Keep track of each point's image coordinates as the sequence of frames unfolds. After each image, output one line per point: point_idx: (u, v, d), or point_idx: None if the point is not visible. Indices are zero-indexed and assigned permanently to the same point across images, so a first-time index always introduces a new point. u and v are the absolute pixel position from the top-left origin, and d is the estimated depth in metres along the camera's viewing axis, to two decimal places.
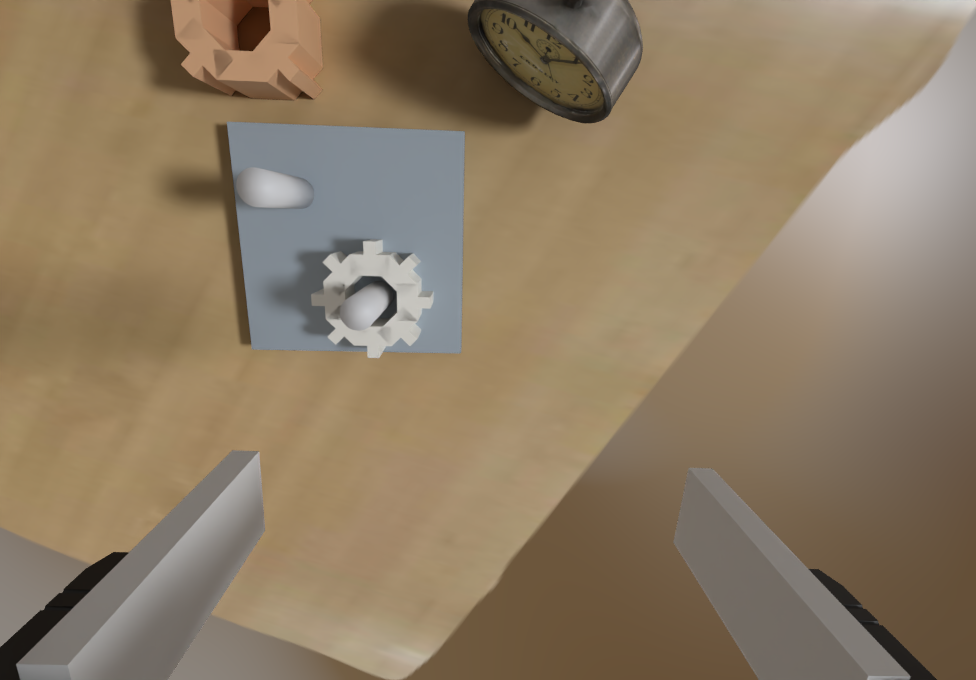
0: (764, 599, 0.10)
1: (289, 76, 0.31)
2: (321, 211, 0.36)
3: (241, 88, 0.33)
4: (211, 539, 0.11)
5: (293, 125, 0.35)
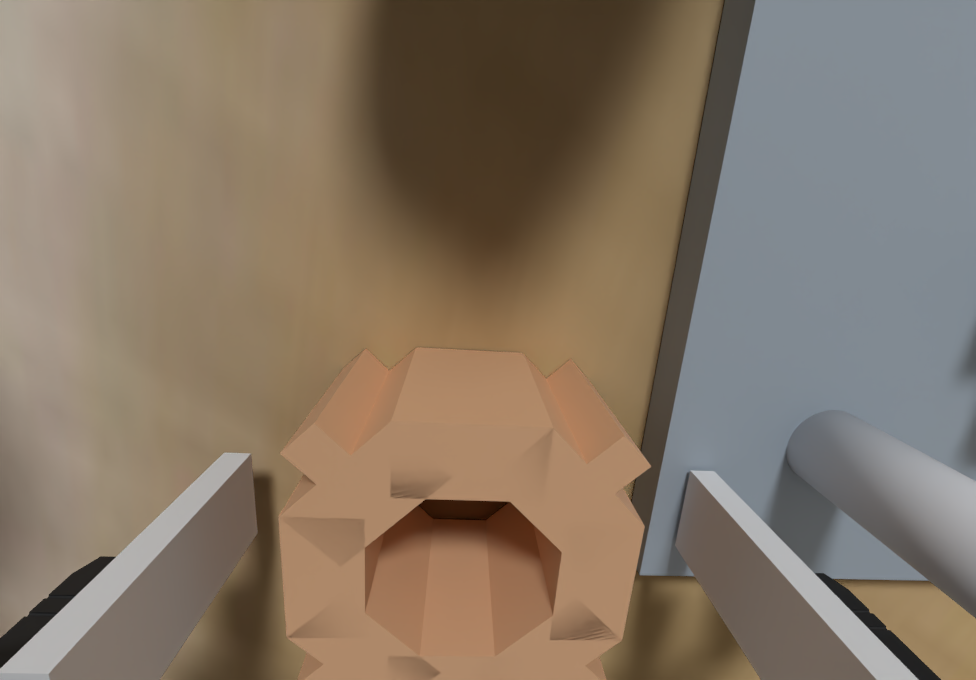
0: (770, 604, 0.10)
1: (639, 464, 0.10)
2: (882, 397, 0.14)
3: None
4: (201, 543, 0.11)
5: (669, 440, 0.14)
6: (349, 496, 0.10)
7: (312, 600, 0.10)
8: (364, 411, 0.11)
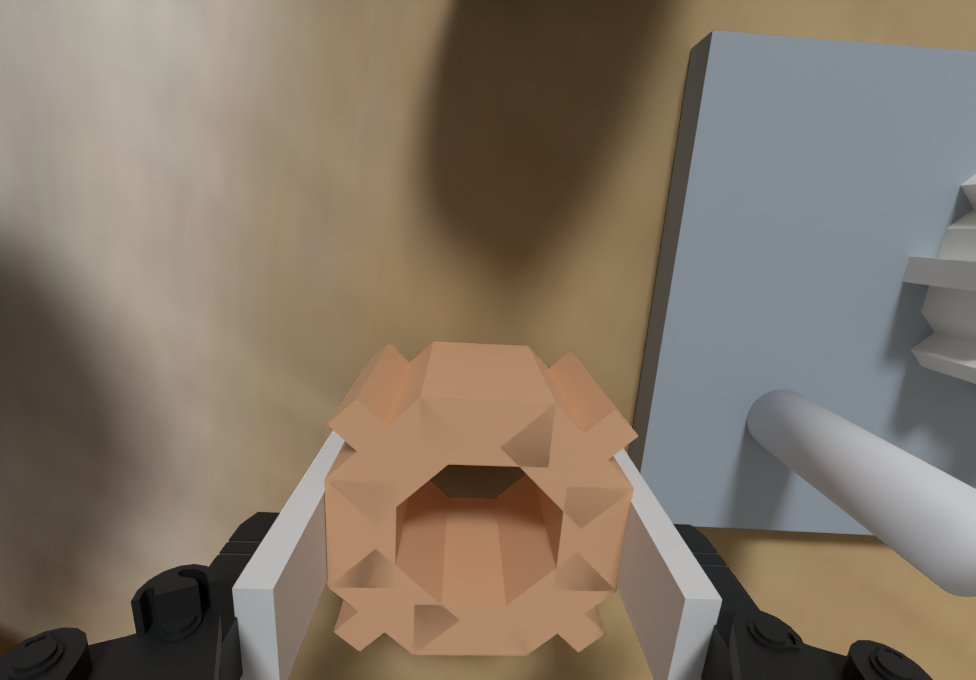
0: (635, 548, 0.12)
1: (629, 434, 0.12)
2: (821, 379, 0.17)
3: None
4: None
5: (652, 412, 0.18)
6: (384, 462, 0.11)
7: (350, 553, 0.12)
8: (393, 393, 0.13)
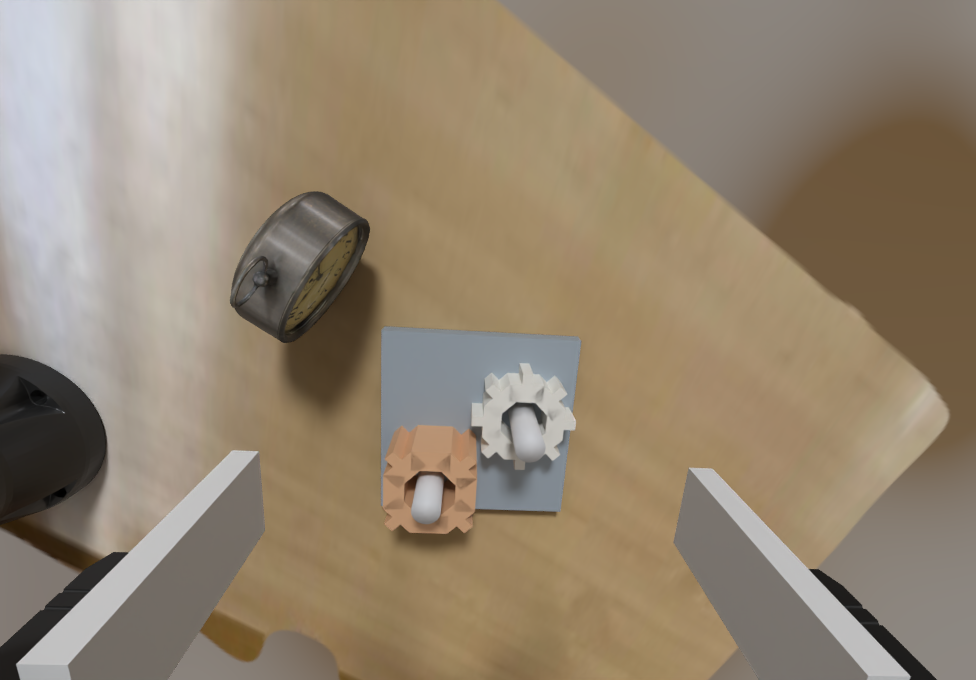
0: (764, 599, 0.10)
1: (473, 462, 0.38)
2: None
3: None
4: (211, 539, 0.11)
5: (381, 461, 0.44)
6: (400, 470, 0.38)
7: (390, 498, 0.39)
8: (403, 447, 0.40)
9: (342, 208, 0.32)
